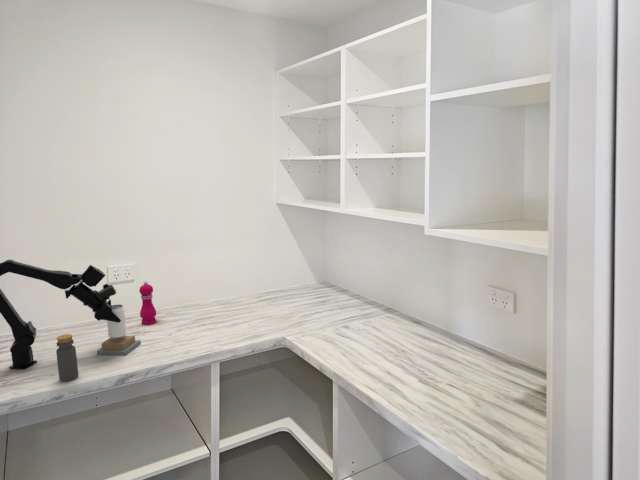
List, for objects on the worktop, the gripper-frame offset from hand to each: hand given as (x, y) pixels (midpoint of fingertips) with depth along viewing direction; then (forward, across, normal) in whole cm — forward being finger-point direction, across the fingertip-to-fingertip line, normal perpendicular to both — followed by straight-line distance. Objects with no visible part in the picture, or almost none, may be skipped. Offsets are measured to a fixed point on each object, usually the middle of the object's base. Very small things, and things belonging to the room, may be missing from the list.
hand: (119, 319), depth 184 cm
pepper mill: (+18, +29, 0) cm, 34 cm away
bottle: (-4, -20, +22) cm, 30 cm away
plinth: (+8, 0, +9) cm, 12 cm away
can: (+4, 0, +6) cm, 7 cm away
